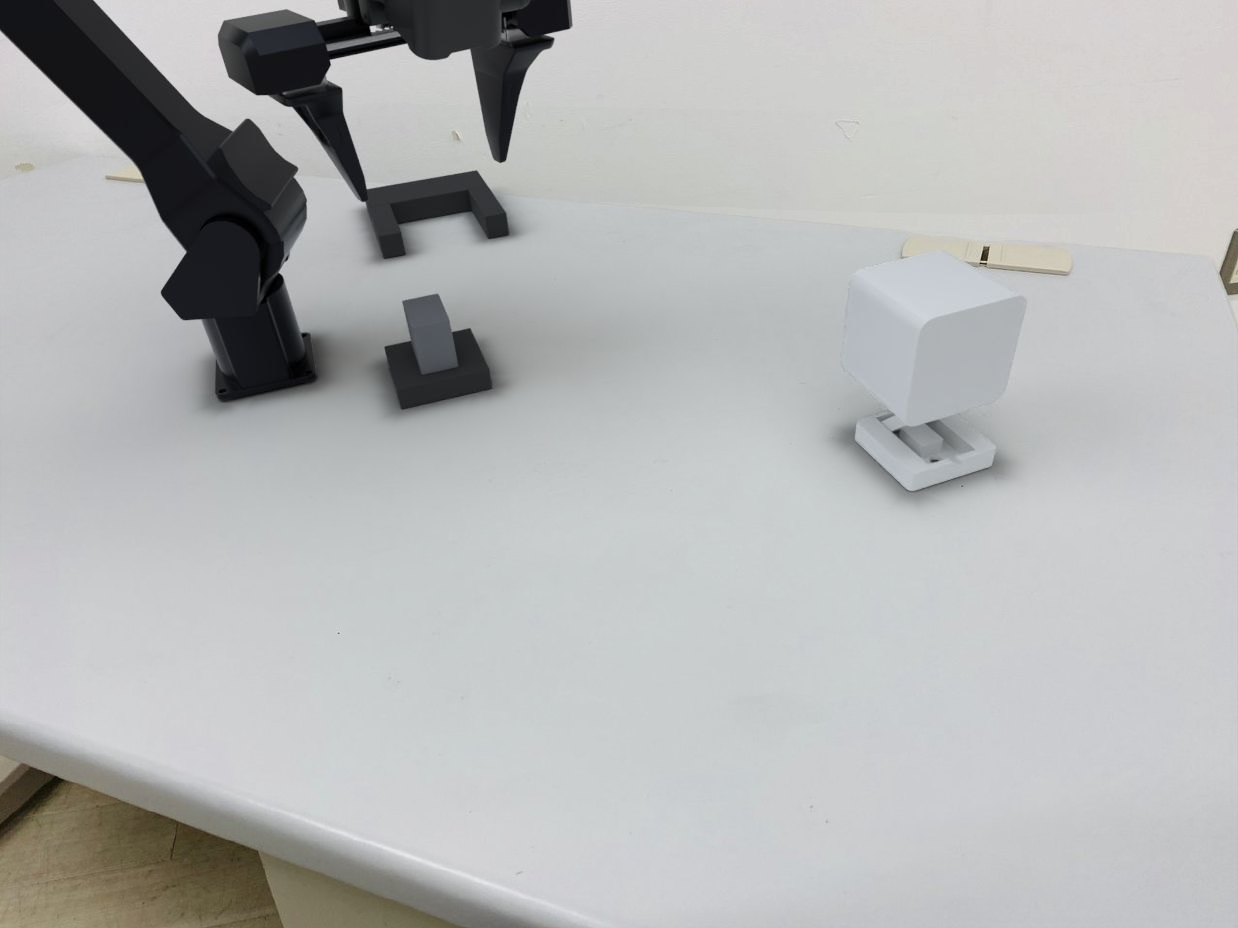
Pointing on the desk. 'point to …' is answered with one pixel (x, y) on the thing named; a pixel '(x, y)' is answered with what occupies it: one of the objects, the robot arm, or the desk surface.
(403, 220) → the black flat u-shaped piece
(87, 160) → the desk surface
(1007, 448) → the desk surface
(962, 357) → the security camera
